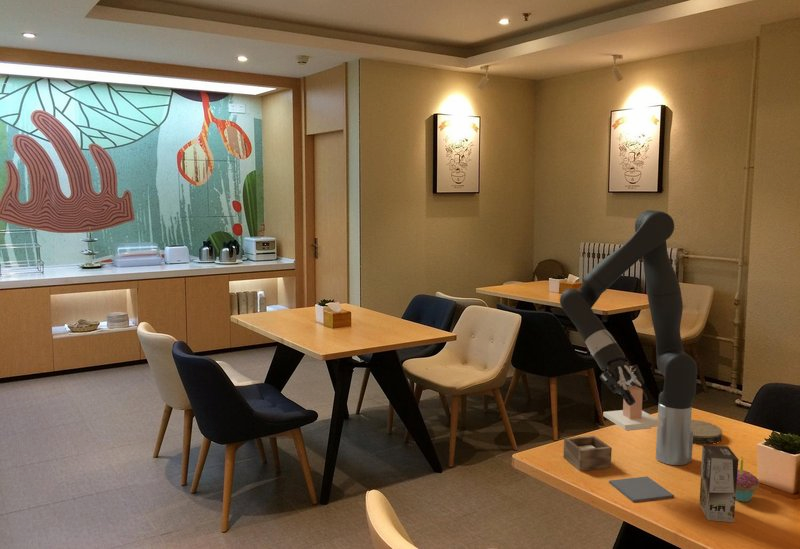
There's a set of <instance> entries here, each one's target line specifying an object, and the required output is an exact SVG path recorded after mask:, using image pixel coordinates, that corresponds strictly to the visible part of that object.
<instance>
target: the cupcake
mask: <svg viewBox="0 0 800 549" xmlns="http://www.w3.org/2000/svg"><path fill="white" fill-rule="evenodd" d="M739 461H740V462H739V469H738V473H737V486H736V500H735V501H737V502H750V501H751V499H752V497H753V495H754V494H755V493H756V491H757V490H759V488H760V481H759V478H757V476H756V475H754V474H753V473H751V472H749V471H746V470H745V469H744V458H740V459H739Z"/></svg>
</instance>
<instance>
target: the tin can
mask: <svg viewBox="0 0 800 549" xmlns="http://www.w3.org/2000/svg"><path fill="white" fill-rule="evenodd" d="M691 430H692V431H693V444H694V443H696V444H695V445H704V444H706V445H714V444H713V443H715V444H718V443H717V442H719V441H720V442H722V439H723V438H722V437H723V430H722V428H721V427H719V426H718V425H716V424H713V423H710V422H707V421H704V420H703V421H702V420H697V419H691ZM720 442H719V443H720Z"/></svg>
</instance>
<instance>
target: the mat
mask: <svg viewBox="0 0 800 549" xmlns="http://www.w3.org/2000/svg"><path fill="white" fill-rule="evenodd" d="M608 483H609V484H610V485H611V486H612V487H613V488H614V489H616V490H617V491H619V492H620V493H621V494H623V495H624V496H625V497H626V498H627V499H629V500H630V501H631V502H632V503H637V502H645V501H653V500H654V501H655V500H663V499H671V498H674V497H675V495H674V494H673V493H672V492H670V491H669V490H668V489H666V488H664V487H663V486H661V485H660V483H658V482H656V481H655V480H654V479H652V478H650V477H649V476H648V475H647V476H639V477H638V476H637V477H630V478H620V479H611V480H608Z"/></svg>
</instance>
